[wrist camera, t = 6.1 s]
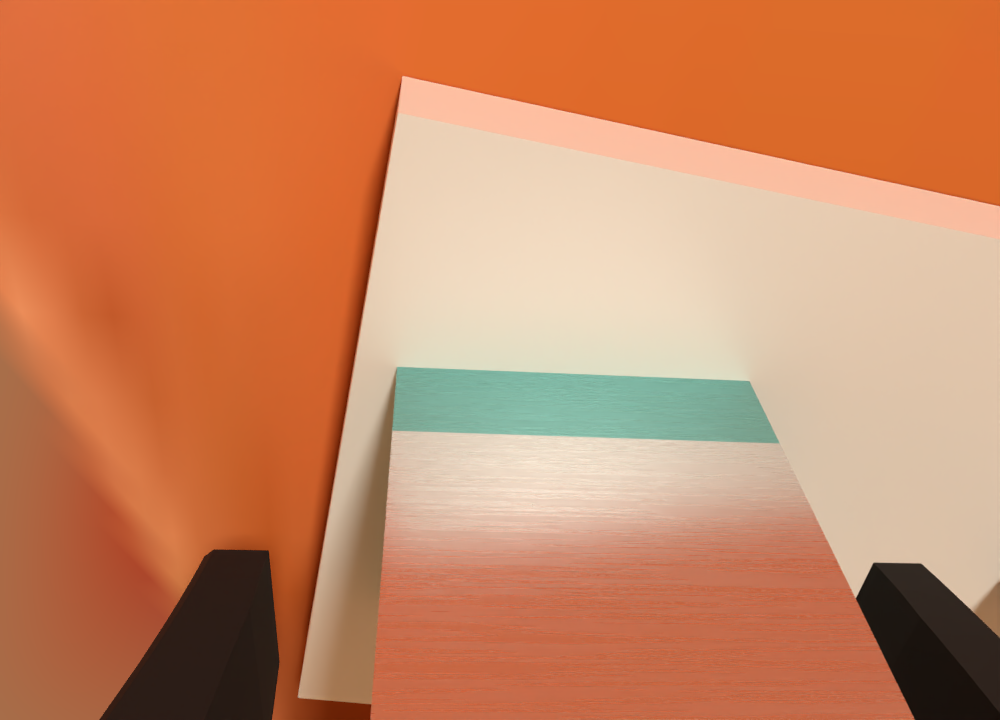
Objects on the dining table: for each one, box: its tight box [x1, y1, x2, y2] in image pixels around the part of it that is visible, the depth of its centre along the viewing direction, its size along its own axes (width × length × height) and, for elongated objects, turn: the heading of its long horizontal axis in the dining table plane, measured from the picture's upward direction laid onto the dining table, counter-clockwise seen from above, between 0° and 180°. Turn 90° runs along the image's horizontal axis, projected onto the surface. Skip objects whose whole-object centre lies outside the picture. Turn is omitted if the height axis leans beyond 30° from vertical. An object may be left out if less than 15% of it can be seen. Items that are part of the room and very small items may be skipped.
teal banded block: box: [370, 367, 915, 720], centre depth 9 cm, size 4×4×6 cm
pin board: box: [298, 76, 1000, 704], centre depth 12 cm, size 14×10×4 cm
